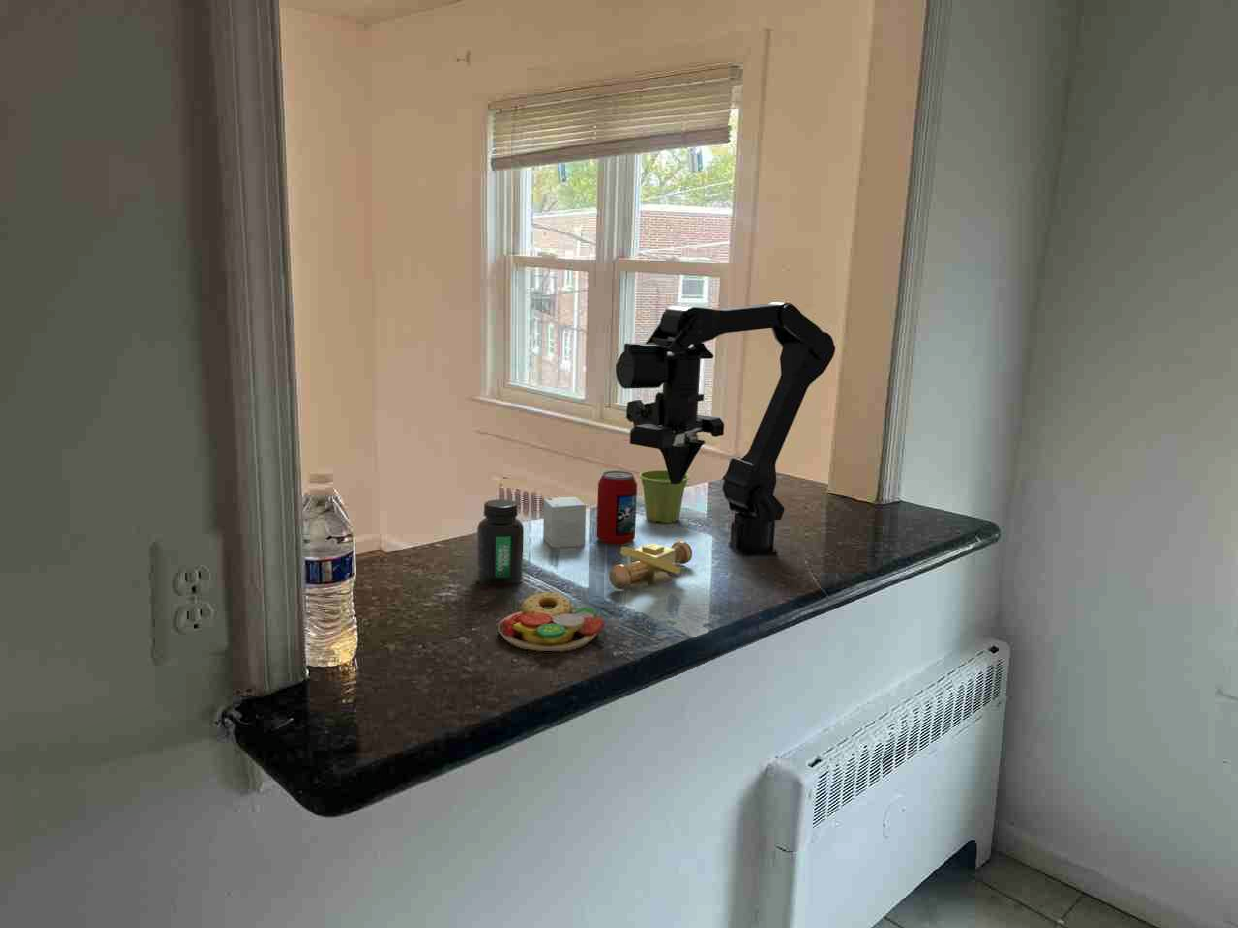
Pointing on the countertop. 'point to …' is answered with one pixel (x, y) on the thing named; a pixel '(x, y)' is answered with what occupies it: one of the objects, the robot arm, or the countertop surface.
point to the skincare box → (564, 522)
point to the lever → (654, 562)
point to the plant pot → (662, 496)
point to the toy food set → (550, 624)
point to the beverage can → (616, 507)
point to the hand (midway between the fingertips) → (675, 483)
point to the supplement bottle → (500, 545)
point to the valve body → (649, 566)
